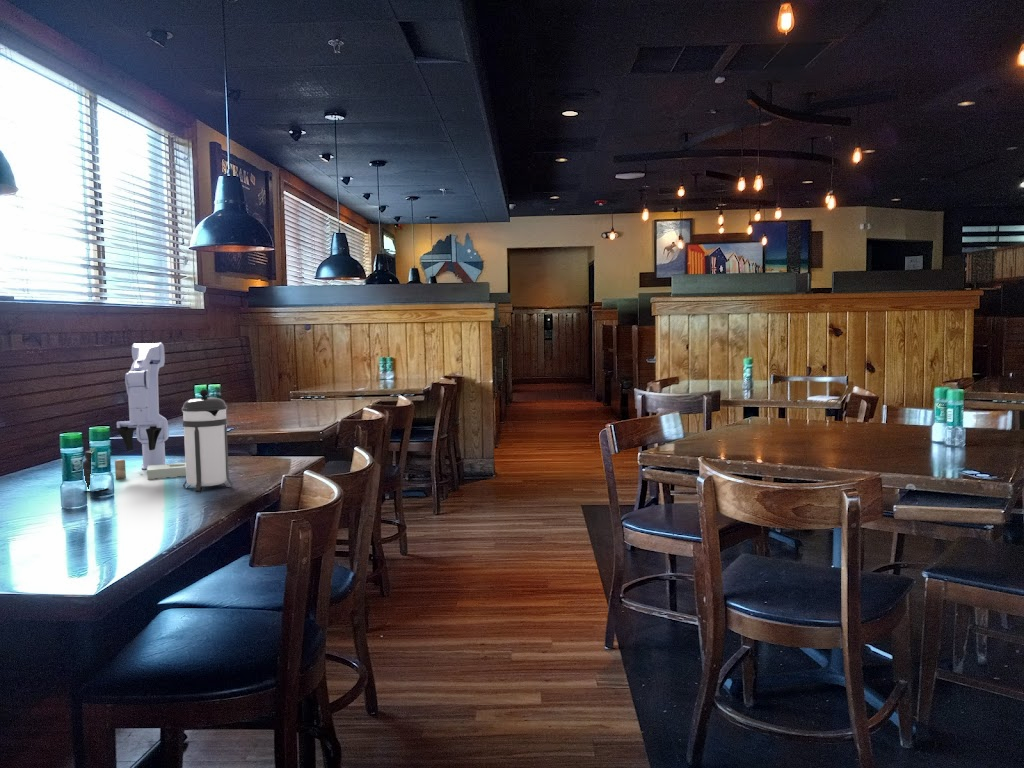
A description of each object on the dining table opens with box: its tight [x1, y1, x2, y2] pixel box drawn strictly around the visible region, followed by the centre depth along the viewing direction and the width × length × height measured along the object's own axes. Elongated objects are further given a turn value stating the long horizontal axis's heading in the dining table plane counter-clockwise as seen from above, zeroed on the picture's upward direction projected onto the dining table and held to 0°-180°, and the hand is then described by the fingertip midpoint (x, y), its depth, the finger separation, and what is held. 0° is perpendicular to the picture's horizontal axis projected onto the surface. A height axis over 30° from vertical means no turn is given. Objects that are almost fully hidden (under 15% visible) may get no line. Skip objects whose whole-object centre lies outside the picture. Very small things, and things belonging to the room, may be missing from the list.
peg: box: [114, 458, 127, 480], centre depth 248 cm, size 3×3×6 cm
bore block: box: [146, 462, 186, 480], centre depth 253 cm, size 10×18×3 cm, turn 115°
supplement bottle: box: [82, 449, 92, 489], centre depth 229 cm, size 7×7×12 cm
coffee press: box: [181, 389, 234, 493], centre depth 229 cm, size 17×16×30 cm
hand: (140, 449), depth 244 cm, fingers open, 7 cm apart
